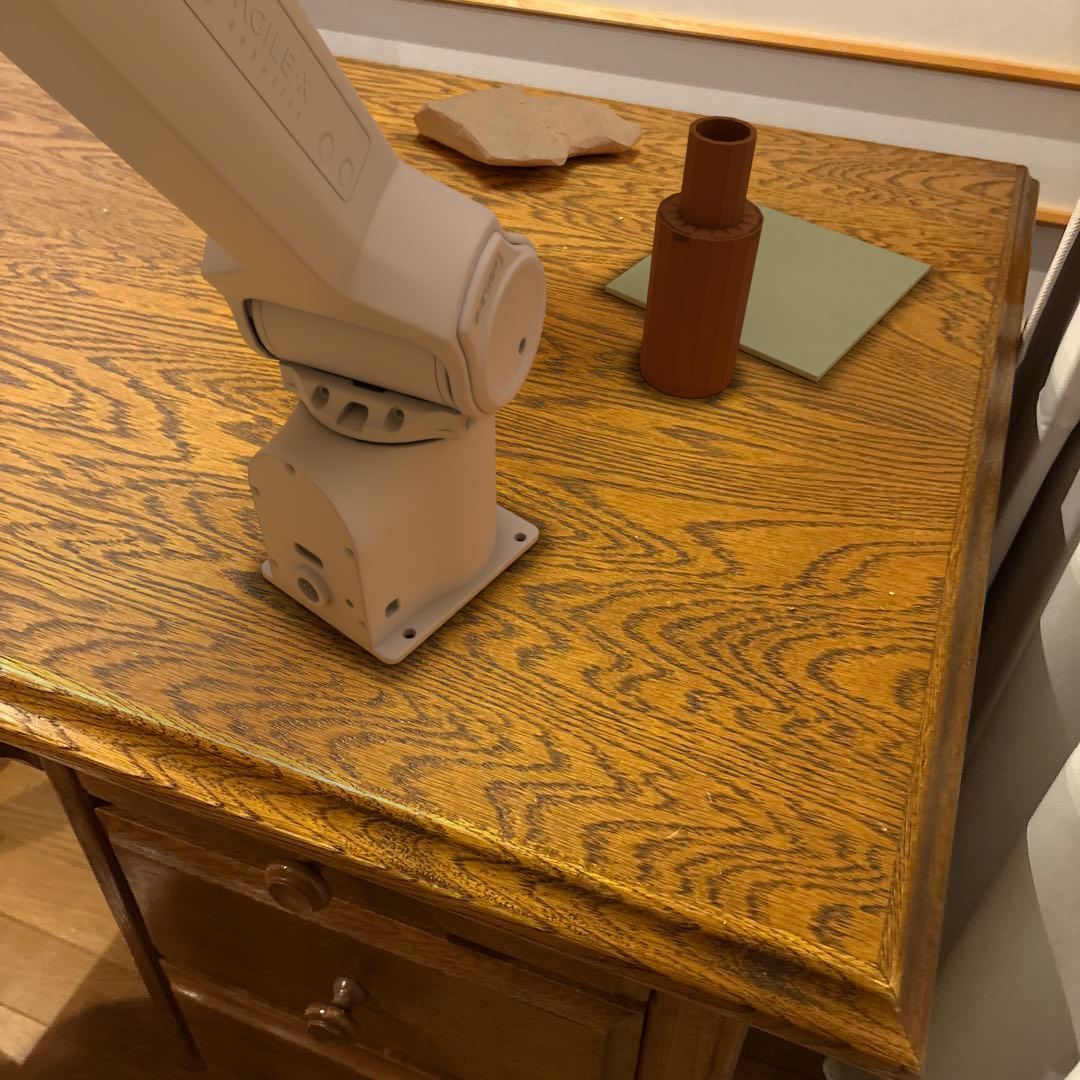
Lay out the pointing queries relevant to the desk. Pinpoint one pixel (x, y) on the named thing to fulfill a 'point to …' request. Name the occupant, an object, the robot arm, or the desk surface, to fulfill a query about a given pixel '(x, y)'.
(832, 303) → the mat
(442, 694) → the desk surface
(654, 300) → the bottle
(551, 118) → the stone
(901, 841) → the desk surface
